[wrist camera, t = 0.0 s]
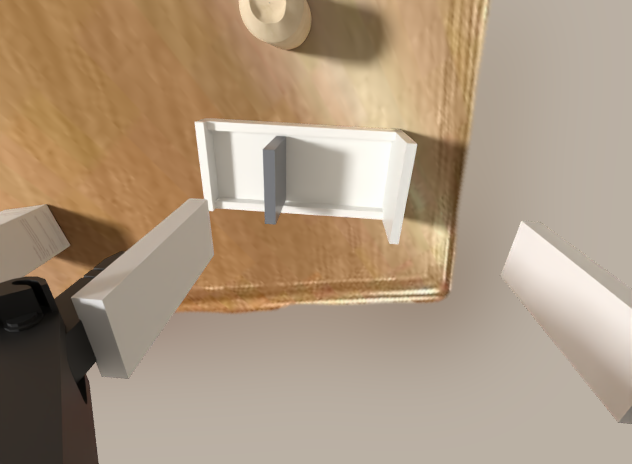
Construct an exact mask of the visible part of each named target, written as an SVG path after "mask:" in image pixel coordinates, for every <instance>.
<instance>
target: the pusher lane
mask: <svg viewBox="0 0 632 464" xmlns="http://www.w3.org/2000/svg"><path fill="white" fill-rule="evenodd" d="M195 129H196V137H197V145H198V153H199V161H200V169H201V177H202V185H203V193H204V199H207V200H208V209H209V211H214V210H215V209H216V208H221V209H236V210H251V211H265V207H264V175H263V149H264V148H265V147H266V146H267V145H268V144H269V143H270V142H271V141H272V140H273V139H274V138H275V137H276V136H286V201H285V203H284V206H283V208H282V211H281V213H295V214H309V215H324V216H339V217H354V218H368V219H382V221H383V224H384V227H385V231H386V234H387V237H388V241H389V244H398V243H399V238H400V233H401V228H402V222H403V217H404V212H405V207H406V201H407V196H408V191H409V186H410V180H411V175H412V170H413V165H414V159H415V154H416V149H417V143H416V142H415V141H413V140H412V139H411V138H410V137H409V136H408V135H407V134H405V133H404V132H403V131H402V130H401V129H387V128H370V127H353V126H335V125H318V124H301V123H283V122H266V121H248V120H231V119H214V118H205V119H202V120H199V121H196V122H195Z"/></svg>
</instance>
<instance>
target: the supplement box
mask: <svg viewBox="0 0 632 464" xmlns="http://www.w3.org/2000/svg"><path fill="white" fill-rule="evenodd" d="M69 246H70V244H69V242H68V240H67V239H66V237H65V235H64V234H63V232H62V230H61V228H60V227H59V225H58V223H57V222H56V220H55V218H54V216H53V215H52V213H51V211H50V210H49V208H48V206H47V205H38V206H30V207H23V208H16V209H8V210H4V211H2V212H0V283H1V282H5V281H8V280H11V279H15V278H21V277H24V276H25V275H27V274H28V273H30V272H32V271H33V270H35V269H36V268H38V267H39V266H41V265H42V264H44V263H45V262H47V261H48V260H50V259H51V258H53V257H54V256H56V255H57V254H59V253H60V252H62V251H63V250H65V249H66V248H68V247H69Z"/></svg>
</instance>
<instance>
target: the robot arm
mask: <svg viewBox="0 0 632 464" xmlns="http://www.w3.org/2000/svg"><path fill="white" fill-rule="evenodd" d="M213 256H214V250H213V242H212V234H211V225H210V217H209V209H208V200H207V199H192V198H190V199H188V200H187V201H186V202H185V203H184V204H182V205H181V206H180V207H179V208H178V209H176V210H175V211H174V212H173V213H172V214H170V215H169V216H168V217H167V218H166V219H164V220H163V221H162V222H161V223H160V224H158V225H157V226H156V227H155V228H154V229H152V230H151V231H150V232H149V233H148V234H146V235H145V236H144V237H143V238H142V239H140V240H139V241H138V242H137V243H136V244H134V245H133V246H132V247H131V248H130V249H128V250H127V251H126V252H124V251H121V252H119V253H117V254H114V255H112V256H110V257H108V258H106V259H104V260H103V261H102V262H101V263H99V264H98V265H97V266H96V267H94V269H93V270H91V271H89V272H88V273H87V274H85V275H84V278H80V279H79V280H78V281H77V282H75V283H74V284H73V285H72V286H70V287H69V288H68V289H66V290H65V291H64V292H63V293H61V294H60V295H59V296H58V297H56V298H55V299H54V298H53V296H52V293H51V291H50V288H49V286H48V284H47V282H46V280H45V279H43V278H40V277H21V278H15V279H11V280H8V281H5V282H1V283H0V464H99V463H98V455H97V447H96V438H95V429H94V420H93V411H92V402H91V394H90V385H89V380H88V378H87V376H86V373H87V371H88V370H89V369H90V368H91V367H92V365H93V364H94V363H95V362H96V363H97V365H98V368H99V371H100V373H101V376H102V377H113V378H124V379H129V378H130V376H131V375H132V373H133V372H134V370H135V369H136V367H137V366H138V365H139V363H140V362H141V360H142V359H143V357H144V356H145V354H146V353H147V351H148V350H149V348H150V347H151V346H152V344H153V343H154V341H155V340H156V338H157V337H158V336H159V334H160V333H161V331H162V330H163V328H164V327H165V325H166V324H167V322H168V321H169V320H170V318H171V317H172V315H173V314H174V312H175V311H176V309H177V308H178V307H179V305H180V304H181V302H182V301H183V299H184V298H185V296H186V295H187V293H188V292H189V291H190V289H191V288H192V286H193V285H194V283H195V282H196V280H197V279H198V277H199V276H200V275H201V273H202V272H203V270H204V269H205V267H206V266H207V264H208V263H209V261H210V260H211V259H212V257H213ZM501 278H502V279H503V280H504V281H505V282H506V284H507V285H508V286H509V287H510V289H511V290H512V291H513V292H514V294H515V295H516V296H517V297H518V298H519V300H520V301H521V302H522V304H523V305H524V306H525V307H526V309H527V310H528V311H529V312H530V313H531V315H532V316H533V317H534V319H535V320H536V321H537V322H538V323H539V325H540V326H541V327H542V328H543V330H544V331H545V332H546V333H547V335H548V336H549V337H550V338H551V340H552V341H553V342H554V343H555V345H556V346H557V347H558V348H559V350H560V351H561V352H562V353H563V355H564V356H565V357H566V358H567V359H568V361H569V362H570V363H571V364H572V366H573V367H574V368H575V369H576V371H577V372H578V373H579V375H580V376H581V377H582V378H583V379H584V381H585V382H586V383H587V384H588V386H589V387H590V388H591V389H592V391H593V392H594V393H595V394H596V396H597V397H598V398H599V399H600V401H601V402H602V403H603V404H604V406H605V407H606V408H607V409H608V410H609V412H610V413H611V414H612V416H613V417H614V418H615V419H616V421H617V422H618V423H627V424H632V288H630V287H629V286H627V285H626V284H625V283H623V282H622V281H621V280H619V279H618V278H617V277H615V276H614V275H612V274H611V273H610V272H608V271H607V270H606V269H604V268H603V267H601V266H600V265H599V264H597V263H596V262H595V261H593V260H592V259H590V258H589V257H588V256H586V255H585V254H584V253H582V252H581V251H580V250H578V249H577V248H575V247H574V246H572V245H571V244H570V243H569V242H567V241H566V240H564V239H563V238H561V237H560V236H559V235H558V234H556V233H555V232H553V231H552V230H551V229H549V228H548V227H547V226H545V225H544V224H543V223H541V222H532V221H521V224H520V226H519V229H518V232H517V234H516V237H515V239H514V243H513V245H512V247H511V250H510V252H509V255H508V258H507V260H506V263H505V265H504V268H503V271H502V273H501Z"/></svg>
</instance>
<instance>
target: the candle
mask: <svg viewBox="0 0 632 464" xmlns="http://www.w3.org/2000/svg"><path fill="white" fill-rule="evenodd" d="M239 9H240V13H241V17H242V19H243V22H244V24H245V25H246V27H247V28H248V30H249V31H250V32H251V33H252V34H253V35H254V36H255V37H257V38H258V39H260V40H262V41H264V42H266V43H268V44H271V45H273V46H275V47H277V48H280V49H285V50H289V49H293V48H296V47H298V46H299V45H301V44H302V43H303V42H304V41H305V39H306V38H307V36H308V34H309V32H310V28H311V12H310V8H309V5H308V3H307V0H239Z"/></svg>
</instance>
